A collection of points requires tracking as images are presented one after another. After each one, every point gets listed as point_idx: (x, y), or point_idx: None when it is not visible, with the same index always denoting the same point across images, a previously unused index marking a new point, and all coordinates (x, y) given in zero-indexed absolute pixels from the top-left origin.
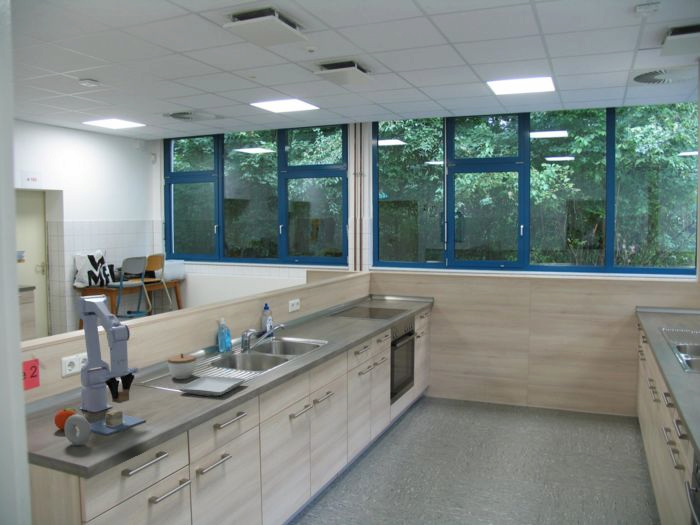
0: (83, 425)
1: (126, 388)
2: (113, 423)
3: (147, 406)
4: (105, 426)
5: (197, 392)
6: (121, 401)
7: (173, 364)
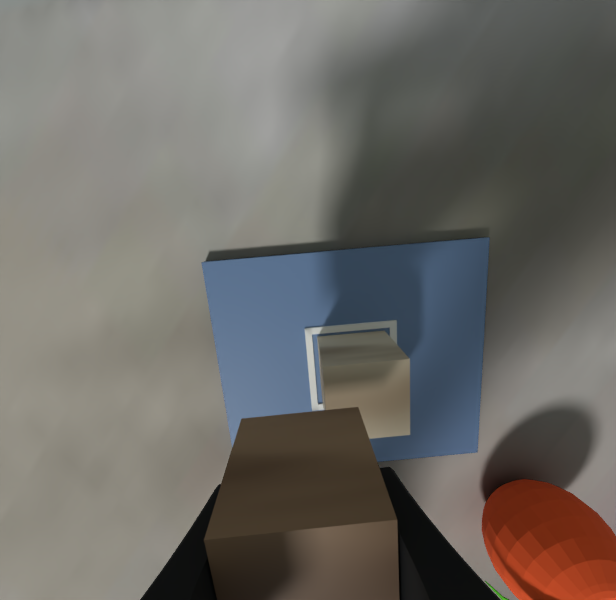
0: None
1: (209, 594)
2: (385, 335)
3: (54, 485)
4: (410, 359)
5: None
6: (339, 415)
7: None
